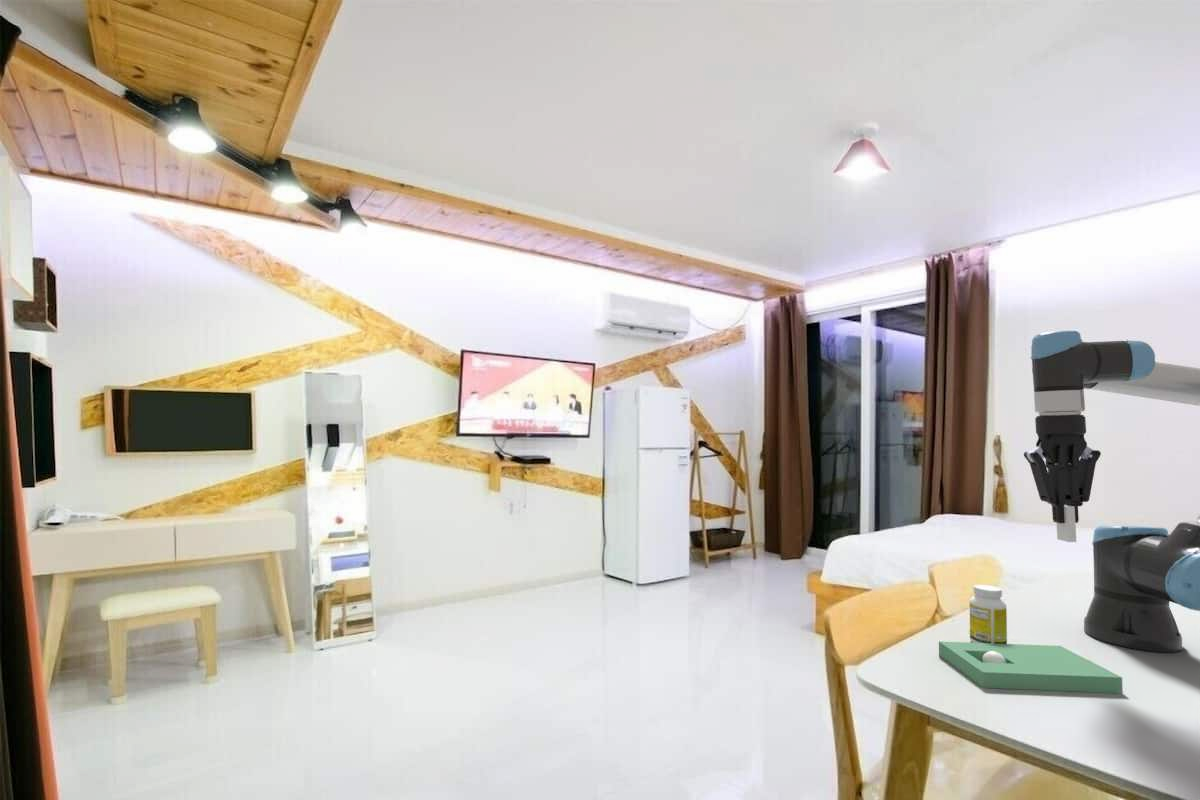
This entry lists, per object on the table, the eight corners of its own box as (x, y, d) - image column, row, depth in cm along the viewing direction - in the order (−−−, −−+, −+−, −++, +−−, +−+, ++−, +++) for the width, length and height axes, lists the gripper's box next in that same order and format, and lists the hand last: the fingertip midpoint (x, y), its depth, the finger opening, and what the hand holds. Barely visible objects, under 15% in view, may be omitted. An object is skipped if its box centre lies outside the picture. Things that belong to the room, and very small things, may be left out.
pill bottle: (1001, 641, 121) (1001, 585, 122) (1011, 651, 115) (1011, 593, 116) (966, 636, 123) (966, 582, 124) (974, 647, 117) (973, 589, 118)
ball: (1002, 662, 107) (993, 644, 107) (1014, 671, 104) (1005, 652, 104) (983, 670, 107) (974, 652, 107) (995, 679, 104) (986, 660, 104)
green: (1060, 659, 112) (1060, 645, 112) (1122, 693, 98) (1122, 677, 98) (938, 655, 113) (938, 641, 113) (982, 687, 99) (982, 672, 99)
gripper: (1078, 413, 117) (1085, 536, 116) (1011, 415, 117) (1017, 537, 116) (1111, 412, 110) (1119, 543, 109) (1039, 414, 110) (1046, 545, 109)
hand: (1066, 540), depth 113 cm, fingers closed
